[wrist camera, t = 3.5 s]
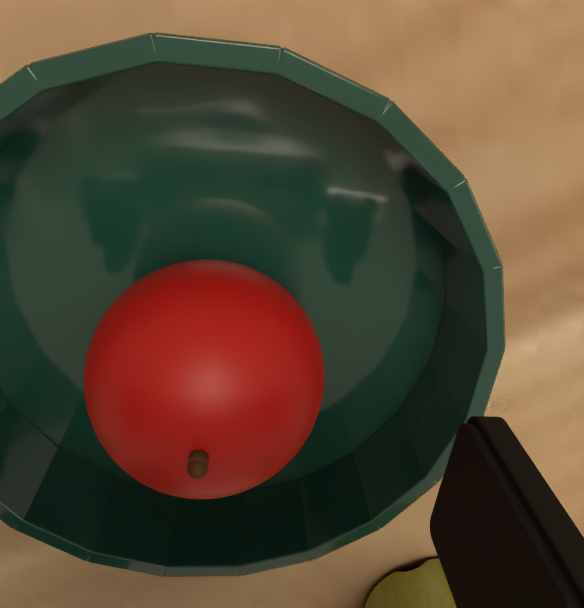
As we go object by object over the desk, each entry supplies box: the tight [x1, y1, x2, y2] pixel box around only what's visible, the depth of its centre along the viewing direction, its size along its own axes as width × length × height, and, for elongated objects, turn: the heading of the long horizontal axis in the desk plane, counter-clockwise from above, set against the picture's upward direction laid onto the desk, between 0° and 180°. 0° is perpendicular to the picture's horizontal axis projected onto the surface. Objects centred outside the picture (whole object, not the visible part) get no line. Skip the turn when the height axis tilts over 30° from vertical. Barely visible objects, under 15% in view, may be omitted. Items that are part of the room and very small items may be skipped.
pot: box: [0, 32, 505, 577], centre depth 14 cm, size 15×15×4 cm
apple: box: [84, 259, 325, 499], centre depth 13 cm, size 6×6×6 cm
